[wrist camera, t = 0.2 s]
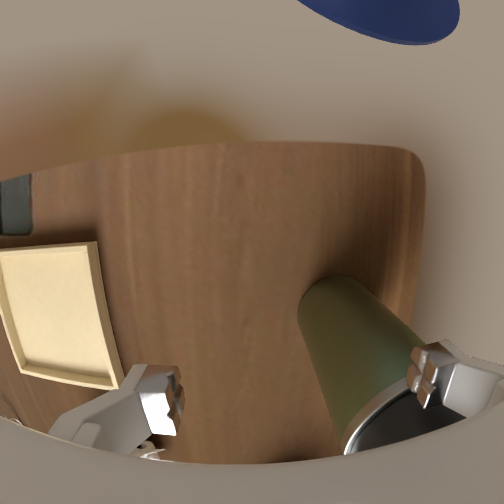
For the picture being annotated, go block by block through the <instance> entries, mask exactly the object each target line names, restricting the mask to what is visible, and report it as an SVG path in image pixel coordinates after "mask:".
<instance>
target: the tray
mask: <svg viewBox="0 0 504 504" xmlns="http://www.w3.org/2000/svg"><path fill="white" fill-rule="evenodd" d="M0 314H1V317H2V321H3V324H4V327H5V331H6V334H7V337H8V340H9V343H10V346H11V348H12V351H13V354H14V357H15V359H16V362H17V365H18V367H19V370H20V372H21V373H25V374H28V375H32V376H36V377H41V378H45V379H49V380H54V381H59V382H64V383H69V384H74V385H79V386H85V387H91V388H98V389H104V390H113V389H119V387H120V386H121V384H122V383H123V381H124V379H125V376H124V373H123V369H122V366H121V362H120V359H119V355H118V351H117V347H116V343H115V339H114V335H113V331H112V326H111V322H110V317H109V312H108V307H107V302H106V297H105V292H104V286H103V280H102V274H101V268H100V261H99V254H98V246H97V241H93V242H79V243H66V244H53V245H40V246H28V247H17V248H6V249H0Z"/></svg>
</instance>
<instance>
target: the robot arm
mask: <svg viewBox="0 0 504 504" xmlns="http://www.w3.org/2000/svg"><path fill="white" fill-rule="evenodd" d="M410 359H411V360H412V363H411V364H410V366H409V367H408V368H407V373H406V381H407V385H408V387H409V389H410V390H411V391H412V392H414V393H416V394H417V398H416V399H417V400H418V401H419V403H420V404H421V405H422V407H423V408H424V409H426V408H430V407H433V406H437V405H440V404H443V405H444V406H446V407H448V408H450V409H452V410H454V411H455V412H457V413H459V414H461V415H463V416H465V417H467V418H466V419H464V420H461V421H459V422H456V423H454V424H451V425H449V426H446V427H443V428H441V429H438V430H435V431H432V432H429V433H426V434H423V435H420V436H417V437H414V438H411V439H407V440H404V441H400V442H397V443H393V444H389V445H386V446H382V447H378V448H373V449H369V450H365V451H360V452H355V453H350V454H345V455H339V456H333V457H327V458H320V459H313V460H304V461H295V462H284V463H270V464H239V465H229V464H199V463H184V462H173V461H164V460H156V459H148V458H142V457H135V456H130V455H128V454H129V453H130V452H132V451H133V450H134V449H135V448H136V447H138V446H139V445H140V444H141V443H142V442H144V441H145V440H146V439H147V438H148V437H150V436H151V435H152V434H151V433H153V434H166V435H177V432H178V428H179V425H180V419H179V415H180V414H182V413H183V410H184V401H185V398H184V390H183V387H182V386H181V385H180V384H179V381H180V378H181V375H180V371H179V368H178V367H177V366H165V365H149V364H134V365H133V366H132V368H131V370H130V371H129V373H128V374H127V376H126V378H125V379H124V381H123V383H122V384H121V386H120V387H119V389H113V390H111V391H109V392H107V393H105V394H103V395H101V396H99V397H97V398H95V399H93V400H91V401H89V402H87V403H84V404H82V405H80V406H78V407H76V408H74V409H72V410H70V411H67V412H65V413H63V414H61V415H60V416H59V418H58V419H57V420H56V422H55V423H54V424H53V426H52V427H51V429H50V430H49V431H48V433H47V434H44V433H41V432H39V431H36V430H33V429H31V428H28V427H25V426H23V425H20V424H18V423H15V422H13V421H11V420H8V419H6V418H4V417H2V416H0V504H504V365H500V364H497V363H493V362H489V361H486V360H482V359H478V358H475V357H471V358H469V356H467V355H466V354H465V353H464V352H463V351H462V350H460V349H459V348H458V347H457V346H456V345H455V344H453V343H452V342H451V341H450V340H442V341H438V342H435V343H431V344H427V345H423V346H418V347H414V348H413V350H412V351H411V355H410Z"/></svg>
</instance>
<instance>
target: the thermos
mask: <svg viewBox="0 0 504 504" xmlns="http://www.w3.org/2000/svg"><path fill="white" fill-rule="evenodd" d="M298 324H299V327H300V329H301V332H302V335H303V338H304V341H305V344H306V346H307V349H308V352H309V355H310V358H311V361H312V363H313V366H314V369H315V372H316V375H317V378H318V381H319V383H320V386H321V389H322V392H323V395H324V398H325V401H326V404H327V407H328V410H329V413H330V415H331V418H332V421H333V424H334V427H335V430H336V433H337V436H338V439H339V442H340V450H341V455H345V454H350V453H351V451H352V448H353V445H354V443H355V441H356V440H357V438H358V437H359V435H360V434H361V432H362V431H363V430H364V429H365V428H366V427H367V425H368V424H369V423H370V422H371V421H372V420H373V419H374V418H376V417H377V416H378V415H379V414H380V413H381V412H383V411H384V410H385V409H386V408H388V407H389V406H390V405H392V404H393V403H395V402H396V401H398V400H399V399H401V398H403V397H404V396H406V395H408V394H410V393H412V391H411V390H410V389H409V387H408V385H407V381H406V373H407V368H408V367H409V366H410V364H411V363H412V360H411V359H410V355H411V351H412V350H413V348H414V347H418V346H423V345H426V344H425V343H424V342H423V341H422V340H421V339H420V338H419V337H418V336H417V335H416V334H415V333H414V332H413V331H412V330H411V329H410V328H409V327H407V326H406V325H405V324H404V323H403V322H402V321H401V320H400V319H399V318H398V317H397V316H396V315H395V314H393V313H392V312H391V311H390V310H389V309H388V308H387V307H386V306H385V305H384V304H382V303H381V302H380V301H379V300H378V299H377V298H376V297H375V296H374V295H372V294H371V293H370V292H369V291H368V290H367V289H366V288H365V287H364V286H362V285H361V284H360V283H359V282H358V281H356V280H354V279H352V278H350V277H346V276H332V277H328V278H325V279H323V280H321V281H319V282H317V283H316V284H314V285H313V286H312V287H311V288H310V289H309V290H308V291H307V292H306V293H305V295H304V296H303V298H302V300H301V302H300V305H299V308H298Z"/></svg>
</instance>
